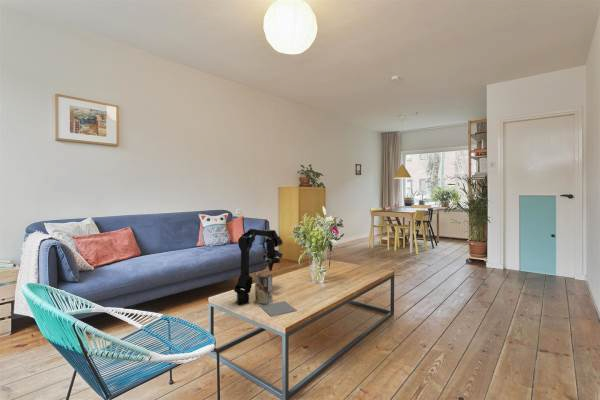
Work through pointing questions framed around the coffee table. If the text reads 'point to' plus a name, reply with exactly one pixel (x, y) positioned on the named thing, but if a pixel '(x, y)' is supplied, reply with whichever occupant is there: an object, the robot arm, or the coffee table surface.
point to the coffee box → (263, 288)
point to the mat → (278, 308)
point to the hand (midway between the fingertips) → (270, 270)
